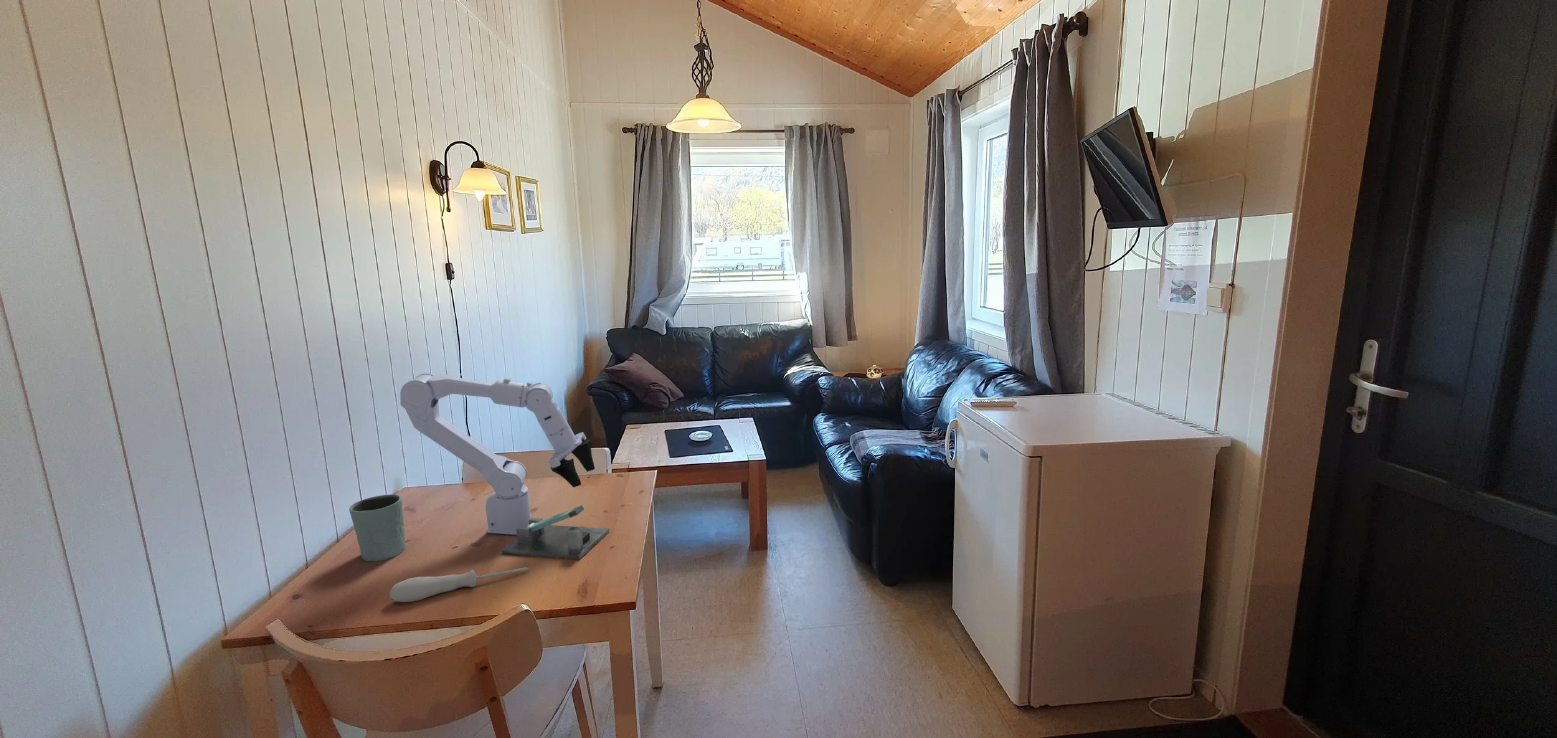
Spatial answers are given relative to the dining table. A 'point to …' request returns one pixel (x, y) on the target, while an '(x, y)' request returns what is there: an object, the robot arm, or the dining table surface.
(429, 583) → the screwdriver
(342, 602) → the dining table surface
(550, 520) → the teal rectangular bar
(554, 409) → the robot arm
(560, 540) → the plate
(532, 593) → the dining table surface
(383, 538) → the green cup
